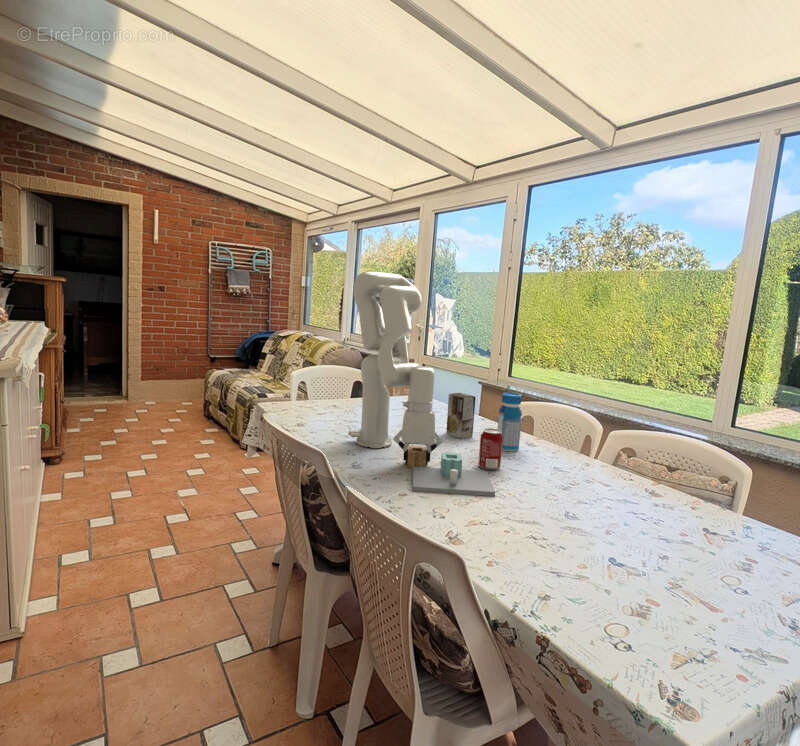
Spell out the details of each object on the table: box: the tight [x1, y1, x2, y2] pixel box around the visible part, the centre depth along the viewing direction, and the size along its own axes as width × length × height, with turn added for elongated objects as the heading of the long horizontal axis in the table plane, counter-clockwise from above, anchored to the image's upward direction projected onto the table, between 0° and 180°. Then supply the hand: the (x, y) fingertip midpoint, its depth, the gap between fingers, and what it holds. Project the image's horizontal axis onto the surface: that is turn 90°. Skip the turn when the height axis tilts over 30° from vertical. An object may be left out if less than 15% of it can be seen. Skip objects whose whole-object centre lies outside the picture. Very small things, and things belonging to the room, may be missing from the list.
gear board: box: [412, 451, 496, 497], centre depth 133 cm, size 22×16×6 cm
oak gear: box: [406, 445, 427, 470], centre depth 147 cm, size 6×7×5 cm
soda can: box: [477, 427, 503, 471], centre depth 148 cm, size 7×7×12 cm
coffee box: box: [445, 392, 476, 440], centre depth 183 cm, size 9×6×16 cm
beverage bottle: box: [496, 392, 523, 452], centre depth 168 cm, size 8×8×20 cm
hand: (416, 462), depth 147 cm, fingers closed on oak gear, 5 cm apart
